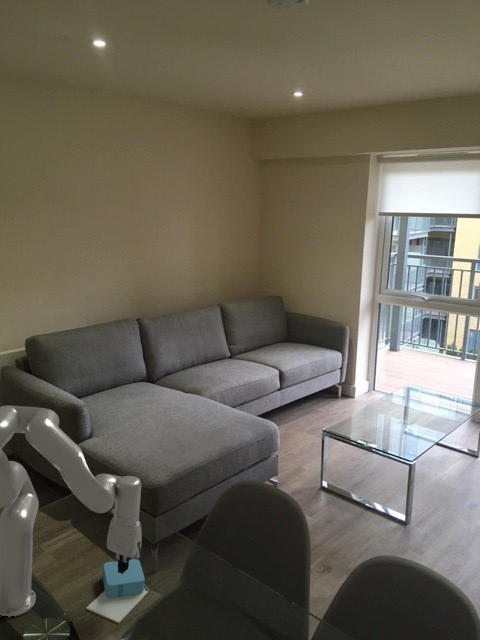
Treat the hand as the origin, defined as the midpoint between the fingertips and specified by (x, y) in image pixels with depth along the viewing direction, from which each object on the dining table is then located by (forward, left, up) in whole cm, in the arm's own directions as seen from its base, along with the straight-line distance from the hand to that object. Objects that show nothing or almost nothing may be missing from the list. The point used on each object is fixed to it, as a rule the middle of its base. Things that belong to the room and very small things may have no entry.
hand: (122, 570), depth 168 cm
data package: (-8, +1, -7) cm, 10 cm away
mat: (0, 0, -10) cm, 10 cm away
